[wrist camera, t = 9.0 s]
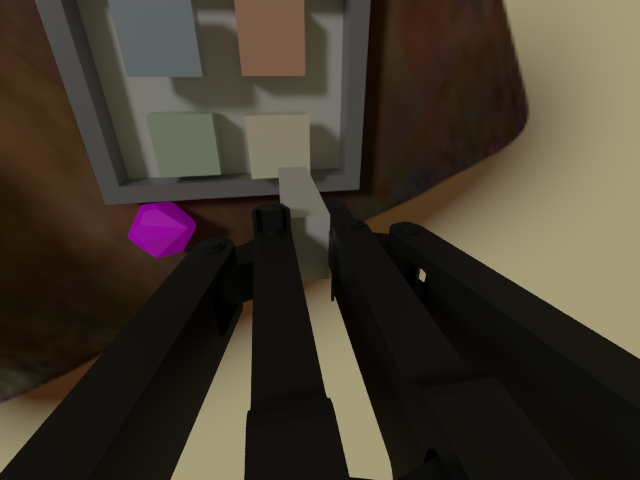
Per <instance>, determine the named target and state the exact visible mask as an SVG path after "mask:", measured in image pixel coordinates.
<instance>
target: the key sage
mask: <svg viewBox="0 0 640 480" xmlns="http://www.w3.org/2000/svg"><path fill="white" fill-rule="evenodd" d="M145 116H146V120H147V125H148V129H149V133H150V137H151V141H152V145H153V149H154V153H155V157H156V161H157V165H158V169H159V173H160V177H161V178H165V177H185V176H205V175H221V173H222V170H223V162H222V155H221V148H220V141H219V134H218V128H217V121H216V114H215V111H171V112H152V113H150V114H147V115H145Z"/></svg>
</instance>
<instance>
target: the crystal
mask: <svg viewBox="0 0 640 480" xmlns="http://www.w3.org/2000/svg"><path fill="white" fill-rule="evenodd" d="M195 229H196V223H195V222H194V220H193V219H192V218H191V217H189V216H188V215H187V214H186V213H185V212H184V211H183V210H181V209H180V208H179V207H178V206H177V205H176V204H174V203H173V202H169V201H167V202H159V203H151V204H144V205H142V206H141V207H140V209H139V211H138V214H137V216H136V218H135V220H134V223H133V225H132V227H131V229H130V231H129V235H128V237H129V238H130V239H131V240H132V241H133V242H134V243H136V244H137V245H138V246H140V247H141V248H142V249H144V250H145V251H146V252H148V253H149V254H151V255H153V256H154V257H156V258H160V257H164V256H168V255H171V254H175V253H178V252H181V251H183V250H184V248H185V247H186V245H187V243H188V241H189V240H190V238H191V236H192V234H193V232H194V231H195Z"/></svg>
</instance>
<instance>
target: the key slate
mask: <svg viewBox="0 0 640 480" xmlns="http://www.w3.org/2000/svg"><path fill="white" fill-rule="evenodd" d="M108 3H109V7H110V11H111V15H112V19H113V23H114V27H115V31H116V35H117V38H118V42H119V46H120V50H121V54H122V58H123V62H124V66H125V70H126V73H127V77H204V76H207V72H206V66H205V59H204V52H203V46H202V39H201V32H200V26H199V19H198V12H197V6H196V0H108Z"/></svg>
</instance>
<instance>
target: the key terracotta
mask: <svg viewBox="0 0 640 480" xmlns="http://www.w3.org/2000/svg"><path fill="white" fill-rule="evenodd" d="M234 5H235V15H236V24H237V34H238V43H239V53H240V63H241V72H242V76H306V70H305V19H304V0H234Z"/></svg>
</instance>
